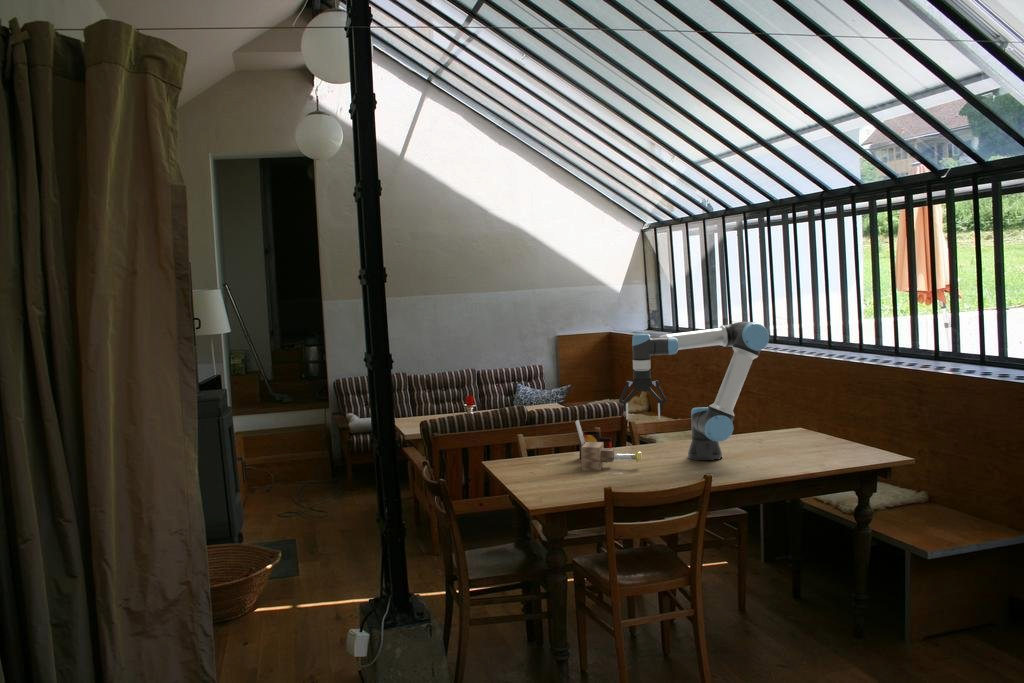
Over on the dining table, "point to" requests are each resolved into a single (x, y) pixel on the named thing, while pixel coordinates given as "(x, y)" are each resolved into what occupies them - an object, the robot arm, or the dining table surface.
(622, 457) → the pin
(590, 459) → the block
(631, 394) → the robot arm
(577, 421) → the keeper flap
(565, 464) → the dining table surface
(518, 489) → the dining table surface
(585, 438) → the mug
